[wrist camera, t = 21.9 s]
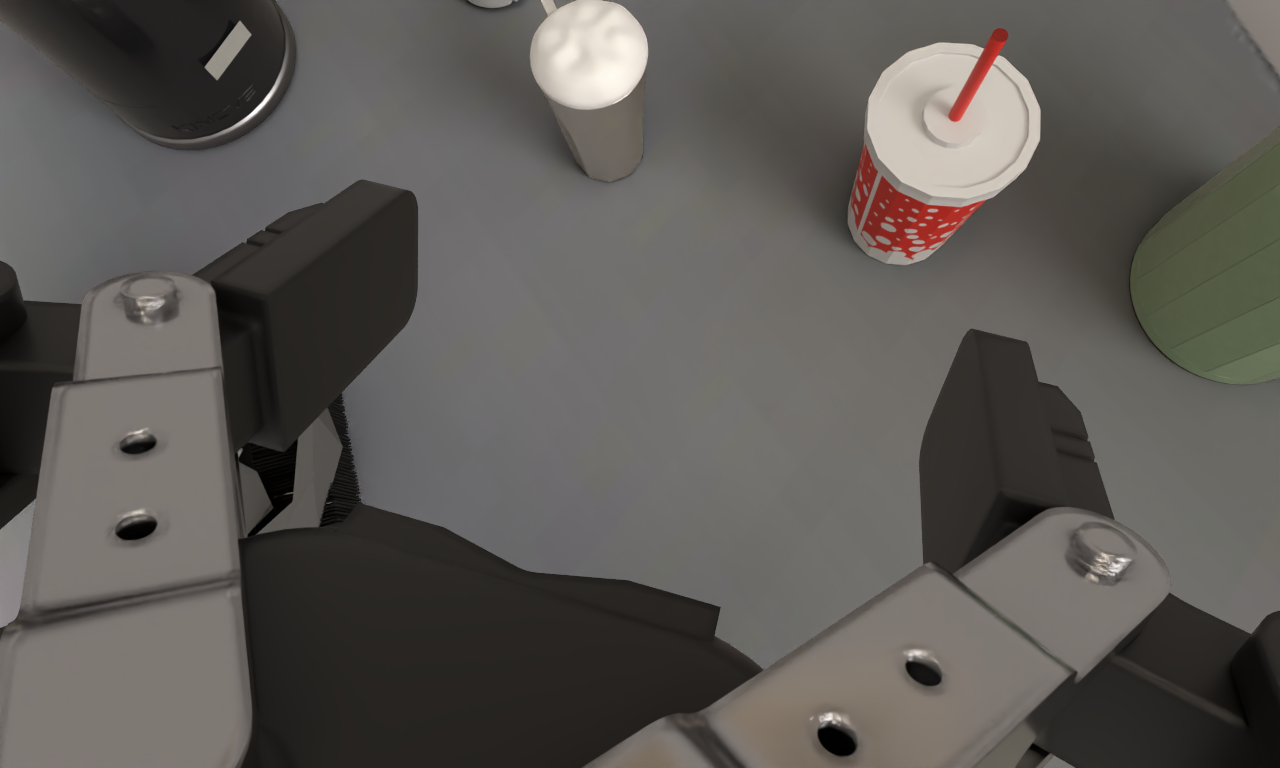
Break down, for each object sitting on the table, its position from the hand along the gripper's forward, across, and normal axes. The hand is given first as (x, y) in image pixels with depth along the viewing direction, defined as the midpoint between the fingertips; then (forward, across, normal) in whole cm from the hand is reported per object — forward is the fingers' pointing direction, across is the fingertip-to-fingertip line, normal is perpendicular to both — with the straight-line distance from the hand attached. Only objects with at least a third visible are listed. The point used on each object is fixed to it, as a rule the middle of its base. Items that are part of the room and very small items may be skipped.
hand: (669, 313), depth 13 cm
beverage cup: (+29, -6, +9) cm, 31 cm away
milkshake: (+29, +8, +8) cm, 31 cm away
